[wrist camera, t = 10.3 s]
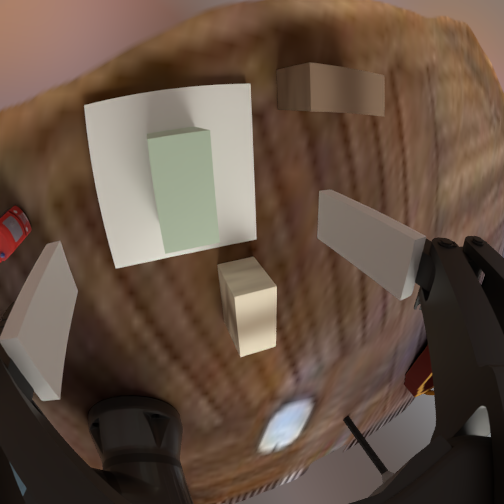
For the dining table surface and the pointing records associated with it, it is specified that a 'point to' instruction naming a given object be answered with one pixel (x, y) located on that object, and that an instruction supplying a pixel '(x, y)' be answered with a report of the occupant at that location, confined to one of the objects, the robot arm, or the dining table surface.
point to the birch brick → (248, 305)
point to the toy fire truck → (12, 231)
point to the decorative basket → (420, 375)
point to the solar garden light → (368, 450)
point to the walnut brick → (330, 89)
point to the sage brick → (184, 187)
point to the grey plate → (139, 170)
